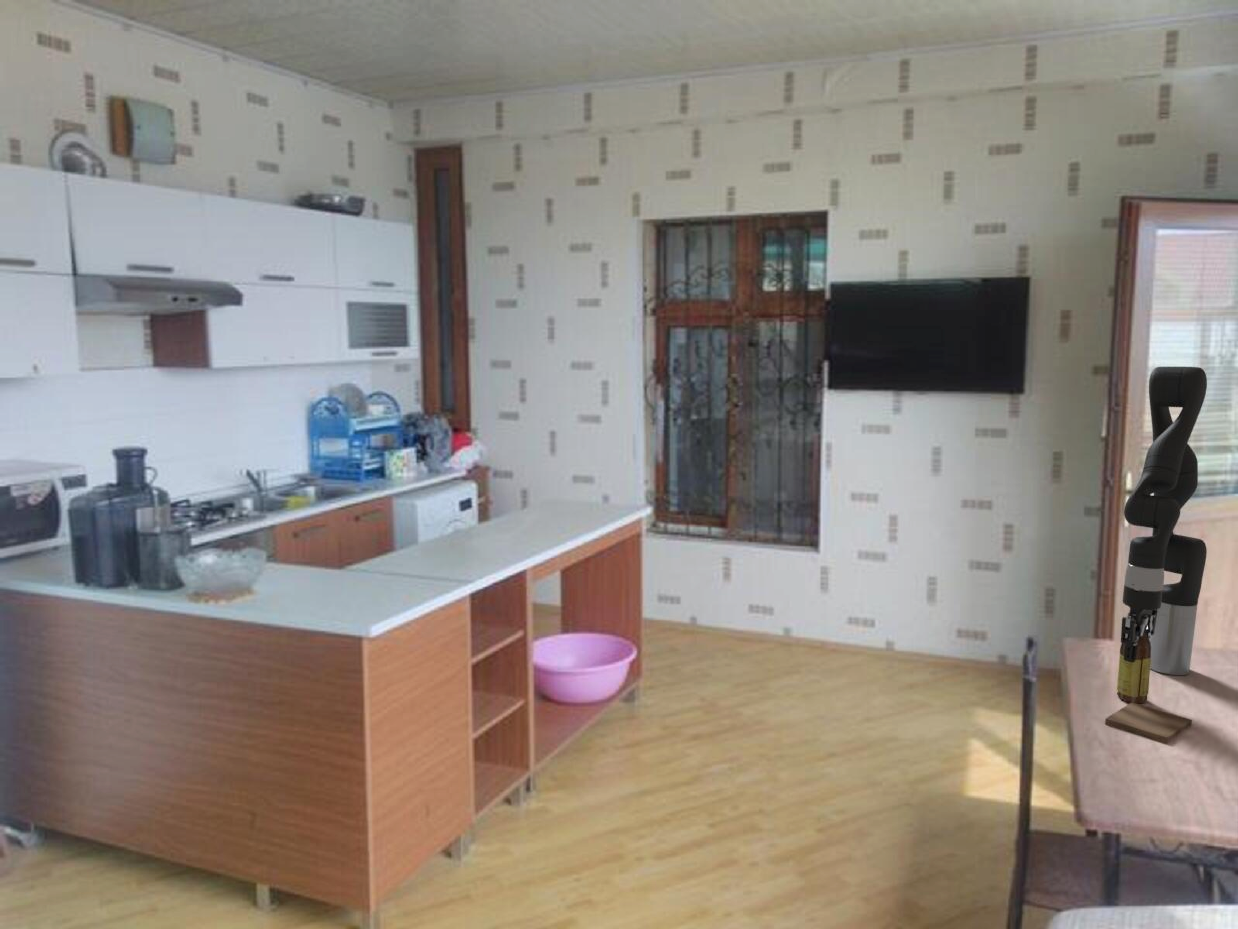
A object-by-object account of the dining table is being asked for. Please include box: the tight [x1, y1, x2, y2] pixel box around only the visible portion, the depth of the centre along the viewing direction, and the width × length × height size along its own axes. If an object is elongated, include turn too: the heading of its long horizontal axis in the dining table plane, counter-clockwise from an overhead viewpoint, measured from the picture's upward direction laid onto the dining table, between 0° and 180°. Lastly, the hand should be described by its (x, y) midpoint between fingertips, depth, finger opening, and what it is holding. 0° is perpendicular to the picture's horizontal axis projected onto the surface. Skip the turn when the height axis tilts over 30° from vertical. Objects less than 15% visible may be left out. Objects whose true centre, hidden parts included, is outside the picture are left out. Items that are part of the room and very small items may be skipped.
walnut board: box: [1104, 702, 1193, 744], centre depth 205 cm, size 14×12×1 cm
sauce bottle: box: [1116, 614, 1151, 704], centre depth 218 cm, size 7×6×20 cm
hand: (1135, 657), depth 218 cm, fingers closed on sauce bottle, 6 cm apart
